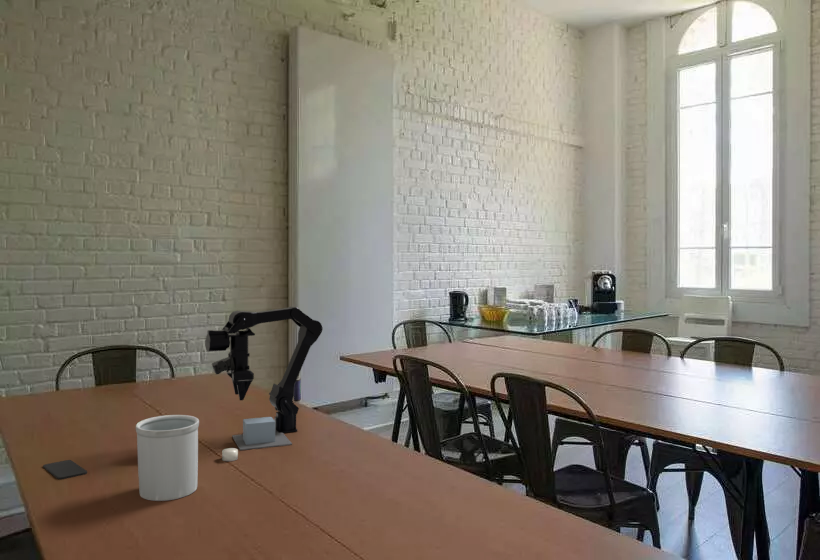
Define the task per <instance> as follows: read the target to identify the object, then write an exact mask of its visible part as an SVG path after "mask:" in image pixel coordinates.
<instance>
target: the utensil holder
mask: <svg viewBox="0 0 820 560" xmlns="http://www.w3.org/2000/svg"><path fill="white" fill-rule="evenodd" d="M199 426H200V419H199V418H198V417H196V416H193V415H187V414H169V415H168V414H167V415H159V416H154V417H153V416H152V417H149V418H146V419H142V420H141V421H139V422H137V424H135V432H136V443H137V445H136V446H137V447H136V448H137V472H138V473H137V475H138V489H139V491H138V492H139V496H140V498H142V499H144V500H148V501H153V502H155V501H156V502H161V501H162V502H164V501H165V502H166V501H171V500H172V501H173V500H177V499H182V498H185V497H187V496H189V495H191V494H193V493H194V492H196V490H197V489H198V481H199V480H198V473H199V470H198V469H199V467H198V466H199Z"/></svg>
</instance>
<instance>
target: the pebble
mask: <svg viewBox="0 0 820 560" xmlns="http://www.w3.org/2000/svg"><path fill="white" fill-rule="evenodd" d="M238 456H239V448H235V447H229V448H224V449H222V452H221V461H223V462H234V461H237V460H238V459H239V457H238Z"/></svg>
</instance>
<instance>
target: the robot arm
mask: <svg viewBox="0 0 820 560" xmlns="http://www.w3.org/2000/svg"><path fill="white" fill-rule="evenodd" d="M286 320H291V321H292V322H293V323H294V324H295V325H296V326H298V327H299V330H298V333H297V343H296V346H295V348H294V350H293V353H292V356H291V357H290V359H289V362H288V364H287V367H286V369H285V372H284V373H283V376H282V379H281V380H280V382H278V384H276V383H273V384H272V388H271V390H270V392H269V393H268V395H269V398H268V400H269V403H270V404H271V406H273V407H274V410H275V411H276V412H275V416H274V418H273V419H274V420H275V431H278V432H279V433H280V432H283V434H285V433H294V432H298V428H297V415H298V412H299V409H300V408H299V407H298V406H297V405H296V404H295V403H294V385H295V382H296V380H297V378H298V375H299V376H300V374H301V371H302V368H303V366H304V364H305V362H306V358H307V356H308V353H309V351H310V349H311V347H312V346H313V345H314V344H315V342H317V341H318V339H319V338H320V336H321V334H322V332H323V325H322V323H321V322H320V321H319V320H316V319H312V318H311V317H310V316H308V315H307V314H306V313H304V312H303V311H302V310H301V309H300V308H299V307H296V306H288V307H284V308H283V307H282V308H276V309H269V310H268V309H267V310H261V311H251V310H249V311H248V310H234V311H232V312H231V313H230V314H229V316H228V320H227V322H226V323H225V325H224V326H223V328H222V329H218V330H217V329H216V330H214V329H208V330H207V333H206V337H205V342H204V343H205V350H206V352H208V353H209V352H224V351H227V350H228V349H229V352H228V353H227V354H228V355H227V357H224V358H222V359H219V360H217V361H214V362H211V366H212V369H213V371H214V373H215V375H219V374H221V373H222V372H223V373H224V372H226V374H227V376H228V377H229V378H231V381H232V387H233V390H234V391H233V392H234V394H235V395H236V396H237V395H238V398H239V401H244V400H245V397H246V394H247V393H248V390H249V388H250V386H251V384H252V382H253V380H254V379H255V377H254V376H255V375H254V372H253V371H252V370H251V369H250V365H249V358H250V352H249V337H250V336H251V337H252V336H255V335H256V333H254V331H252V329H251V328H253V327H255V326H257V325H260V324H267V323H271V322H280V321H286Z"/></svg>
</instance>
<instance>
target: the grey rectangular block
mask: <svg viewBox="0 0 820 560" xmlns="http://www.w3.org/2000/svg"><path fill="white" fill-rule="evenodd" d="M275 431H276V429H275V420H274V418H273V417H272V416H264V417H254V418H253V417H252V418H243V419H242V434H243V440H244V442H245V443H246V445H249V444H259V443H268V442H275Z"/></svg>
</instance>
